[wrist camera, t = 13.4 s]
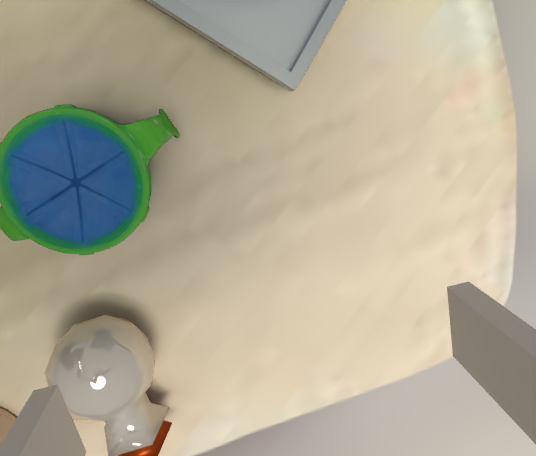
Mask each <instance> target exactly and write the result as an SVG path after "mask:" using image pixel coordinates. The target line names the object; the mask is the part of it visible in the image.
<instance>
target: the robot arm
mask: <svg viewBox="0 0 536 456" xmlns="http://www.w3.org/2000/svg"><path fill="white" fill-rule="evenodd" d="M447 292H448V303H449V315H450V326H451V338H452V349H453V356H454V357H455V358H456V360H458V361H459V363H460V364H461V365H462V366H463V367H464V368H465V369H466V370H467V371H468V372H469V373H470V374H471V376H472V377H473V378H474V379H475V380H476V381H477V382H478V383H479V384H480V385H481V386H482V387H483V388H484V389H485V390H486V392H487V393H488V394H489V395H490V396H491V397H492V398H493V399H494V400H495V401H496V402H497V403H498V404H499V405H500V406H501V408H502V409H503V410H504V411H505V412H506V413H507V414H508V415H509V416H510V417H511V418H512V419H513V420H514V421H515V423H516V424H517V425H518V426H519V427H520V428H521V429H522V430H523V431H524V432H525V433H526V434H527V435H528V436H529V437H530V438H531V440H532V441H533V442H534V443H535V444H536V329H534V328H533V327H532V326H530V325H529V324H527V323H526V322H525V321H523V320H522V319H520V318H519V317H517V316H516V315H515V314H513V313H512V312H510V311H509V310H508V309H506V308H505V307H503V306H502V305H501V304H499V303H498V302H496V301H495V300H494V299H492V298H491V297H489V296H488V295H487V294H485V293H484V292H482V291H481V290H480V289H478V288H477V287H475V286H474V285H473V284H471V283H470V282H465V283H461V284H457V285H453V286H449V287H447ZM85 453H86V450H85V447H84V445H83V443H82V440H81V438H80V436H79V433H78V431H77V429H76V426H75V424H74V422H73V419H72V417H71V414H70V412H69V410H68V407H67V405H66V403H65V400H64V398H63V396H62V393H61V391H60V389H59V386H58V385H54V386H50V387H46V388H42V389H38V390H34V391H33V393H32V394H31V396H30V398H29V399H28V401H27V402H26V404H25V406H24V407H23V409H22V411H21V412H20V414H19V416H18V417H17V419H16V420H15V422H14V424H13V425H12V427H11V429H10V430H9V432H8V434H7V435H6V437H5V438H4V440H3V442H2V443H1V445H0V456H85Z"/></svg>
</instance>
